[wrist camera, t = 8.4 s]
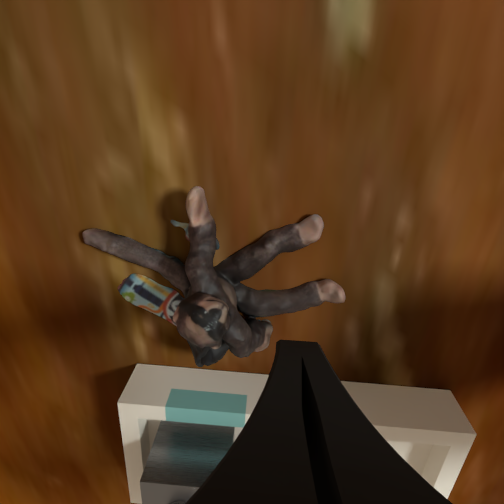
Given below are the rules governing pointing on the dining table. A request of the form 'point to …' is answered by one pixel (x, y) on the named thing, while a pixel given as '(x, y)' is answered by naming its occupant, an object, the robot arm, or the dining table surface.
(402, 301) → the dining table surface
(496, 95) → the dining table surface
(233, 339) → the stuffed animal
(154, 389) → the white rectangular tray
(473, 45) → the dining table surface
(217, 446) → the rider
